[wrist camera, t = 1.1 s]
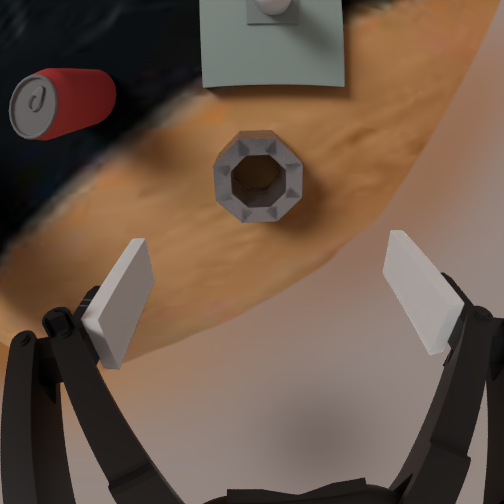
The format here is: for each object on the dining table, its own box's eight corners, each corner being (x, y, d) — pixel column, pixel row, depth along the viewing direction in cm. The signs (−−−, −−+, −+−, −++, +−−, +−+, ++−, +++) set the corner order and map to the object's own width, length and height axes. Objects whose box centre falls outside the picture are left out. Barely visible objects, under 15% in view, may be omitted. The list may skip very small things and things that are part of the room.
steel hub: (222, 202, 35) (217, 223, 30) (217, 132, 32) (211, 140, 26) (293, 199, 35) (301, 220, 30) (293, 130, 31) (302, 138, 26)
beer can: (129, 87, 29) (75, 90, 18) (98, 135, 31) (39, 160, 20) (89, 59, 26) (26, 55, 16) (60, 107, 29) (-5, 122, 18)
